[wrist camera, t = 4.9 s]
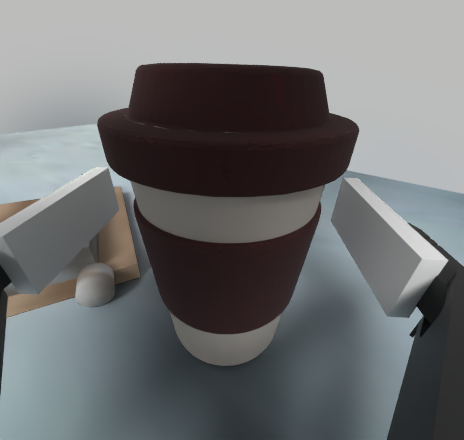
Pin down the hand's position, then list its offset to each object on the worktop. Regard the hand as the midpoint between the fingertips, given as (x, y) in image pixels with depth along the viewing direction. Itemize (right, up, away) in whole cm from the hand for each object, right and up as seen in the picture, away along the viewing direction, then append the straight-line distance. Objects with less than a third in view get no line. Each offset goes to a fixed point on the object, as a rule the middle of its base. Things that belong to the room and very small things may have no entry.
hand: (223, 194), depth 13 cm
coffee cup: (0, -9, +3) cm, 9 cm away
